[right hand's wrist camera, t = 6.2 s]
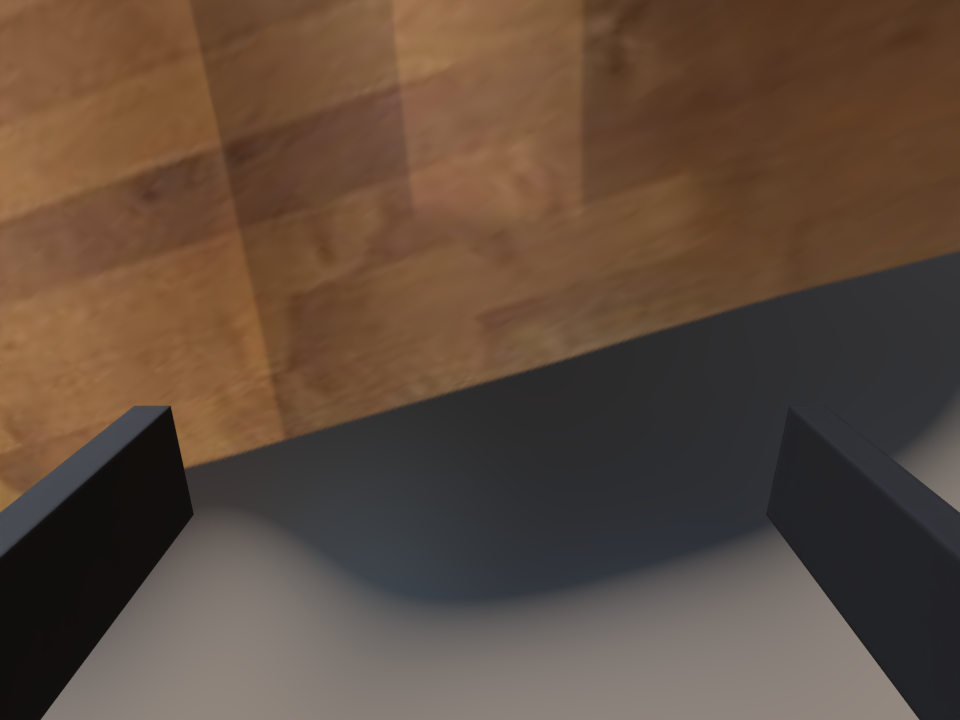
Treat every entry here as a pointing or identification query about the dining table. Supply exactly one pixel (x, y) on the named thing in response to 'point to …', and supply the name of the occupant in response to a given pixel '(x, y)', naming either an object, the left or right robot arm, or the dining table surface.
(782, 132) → the dining table surface
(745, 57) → the dining table surface
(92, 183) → the dining table surface
